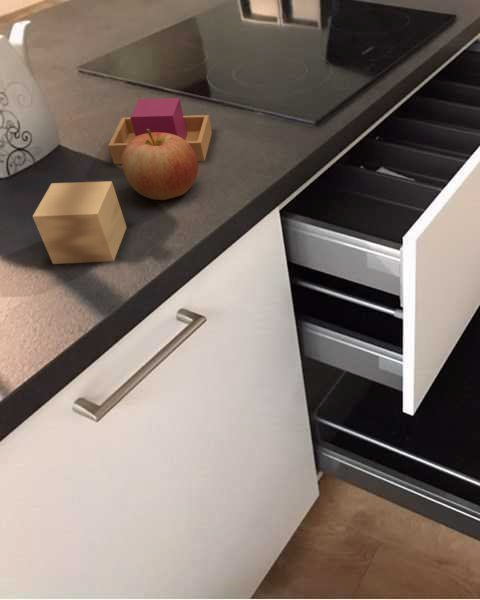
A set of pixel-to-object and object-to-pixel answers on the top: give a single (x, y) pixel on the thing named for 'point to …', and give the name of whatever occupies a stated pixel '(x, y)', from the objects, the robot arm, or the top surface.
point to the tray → (196, 138)
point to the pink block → (159, 117)
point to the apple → (159, 165)
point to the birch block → (80, 222)
